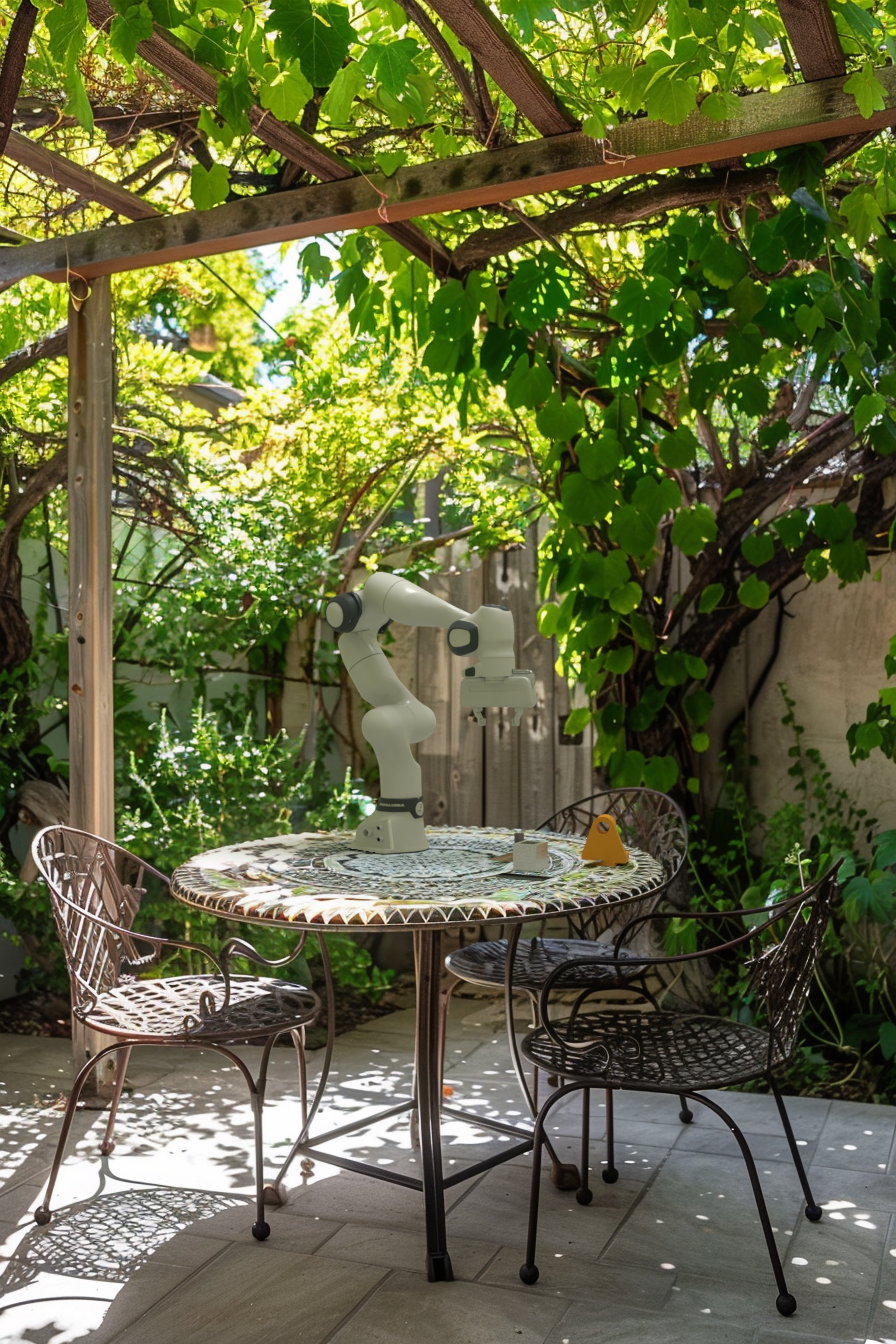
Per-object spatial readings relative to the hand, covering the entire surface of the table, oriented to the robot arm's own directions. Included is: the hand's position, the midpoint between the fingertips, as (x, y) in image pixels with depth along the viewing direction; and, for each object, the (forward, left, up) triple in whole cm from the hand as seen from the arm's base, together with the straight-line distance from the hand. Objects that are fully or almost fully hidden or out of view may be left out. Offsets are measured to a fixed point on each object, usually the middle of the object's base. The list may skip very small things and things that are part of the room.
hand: (498, 725), depth 306 cm
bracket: (+23, +11, -34) cm, 43 cm away
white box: (+14, -11, -34) cm, 38 cm away
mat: (+14, -11, -34) cm, 38 cm away
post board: (+4, +2, -34) cm, 34 cm away
